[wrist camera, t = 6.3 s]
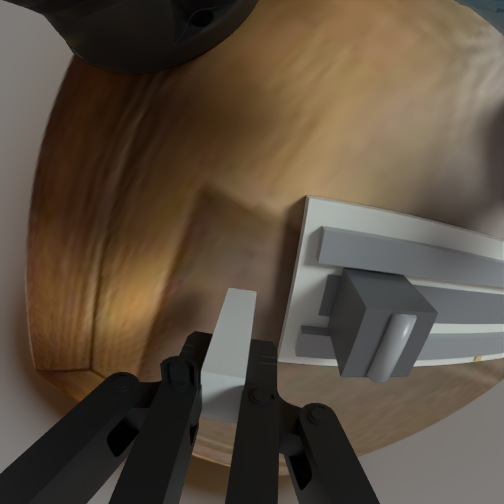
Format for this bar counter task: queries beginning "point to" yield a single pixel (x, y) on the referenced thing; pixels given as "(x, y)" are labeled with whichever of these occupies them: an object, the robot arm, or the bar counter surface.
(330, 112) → the bar counter surface
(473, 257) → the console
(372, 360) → the fader tab
